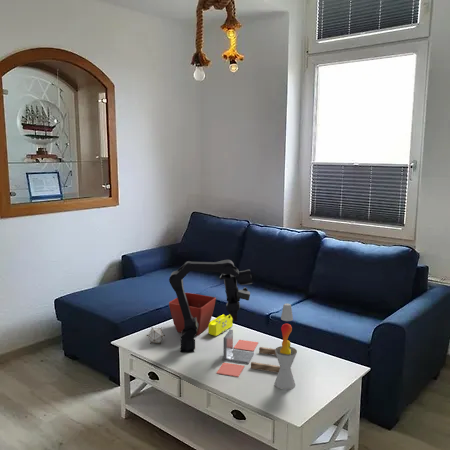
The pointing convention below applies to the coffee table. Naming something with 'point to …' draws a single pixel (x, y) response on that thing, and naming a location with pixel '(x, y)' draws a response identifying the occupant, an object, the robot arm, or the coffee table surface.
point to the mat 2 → (246, 345)
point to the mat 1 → (230, 369)
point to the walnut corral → (265, 366)
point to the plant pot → (193, 311)
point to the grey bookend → (234, 351)
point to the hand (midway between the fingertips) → (235, 317)
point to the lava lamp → (285, 353)
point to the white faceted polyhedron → (155, 335)
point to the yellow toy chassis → (220, 324)
